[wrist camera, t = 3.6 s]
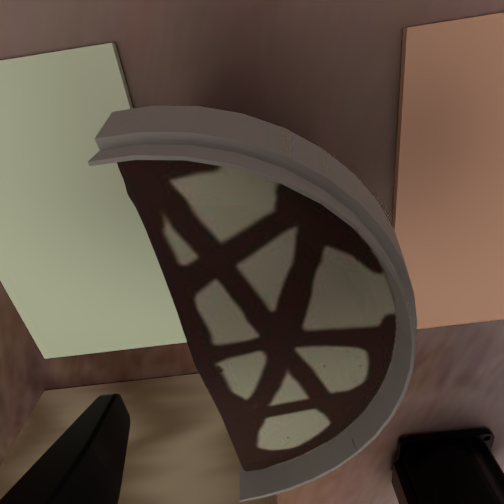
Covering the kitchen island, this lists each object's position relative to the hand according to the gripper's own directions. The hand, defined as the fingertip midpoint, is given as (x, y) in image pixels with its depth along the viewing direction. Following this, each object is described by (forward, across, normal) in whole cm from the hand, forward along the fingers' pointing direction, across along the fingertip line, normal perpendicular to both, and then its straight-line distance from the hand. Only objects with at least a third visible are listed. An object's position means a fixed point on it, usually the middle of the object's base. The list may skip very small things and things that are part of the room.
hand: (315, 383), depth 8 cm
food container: (+11, 0, 0) cm, 11 cm away
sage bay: (+10, +10, 0) cm, 15 cm away
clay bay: (+11, -10, +1) cm, 15 cm away
